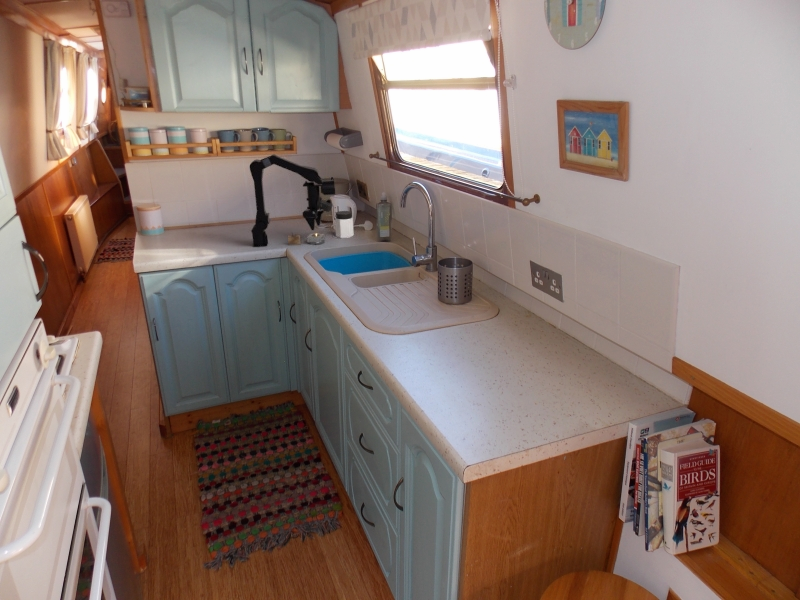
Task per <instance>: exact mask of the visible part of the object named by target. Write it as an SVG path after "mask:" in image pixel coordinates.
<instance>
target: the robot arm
mask: <svg viewBox="0 0 800 600" xmlns="http://www.w3.org/2000/svg"><path fill="white" fill-rule="evenodd" d="M249 164H250V165H249V172H250V174H251V177H252V180H253V187H254V197H255V207H256V214H255V222H254V223H255V224H254V225H253V226H252V228H251V230H250V231H251V235H252V236H251V237H252V247H254V248H255V247H256V248H257V247H266V246H268V245H269V241H268V240H269V239H268V234H267V231H266V229H268V227H269V225H270V222H271V219H270V212H267V210H266V204H265V195H264V194H265V191H264V183H263V178H264V169H267V168H268V167H271V166H273V165H275V166H277V167H280V168H283V169H285V170H288V171H289V172H293V173H295V174H297V175H299V176H300V177H302V178H303V179H305V182H304V183H303V184H302V187H306V189H307V190H306V191H307V192H306V194H307V197H306V201H307V207H306V209H305V210H304V211H303V212H302V218H303V219H305V221H306V222H307V224H308V225H309V226H308V227H310V229H311V231H315V225H317V226H318V227H319V226H321V220H322V216H323V214H324V213H329V212H331V211H332V208H333V206H334V204H333V202H332V199H327V200H323V198H322V196H321V195H320V193H321V194H323V196H335V195H336V186H335V180H334V179H330V180H324V179H323V178H322V177H321V176H320V174H319V171H318V169H316V168H315V167H312V166H307V165H300V164H298V163H296V162H293V161H292V160H288V159H286V158H283V157H281V156H278V155H277V154H271V155H269V156H267V157H264V158H262V159H254V160H253V161H252V162H251V163H249ZM315 223H316V224H315Z"/></svg>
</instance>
